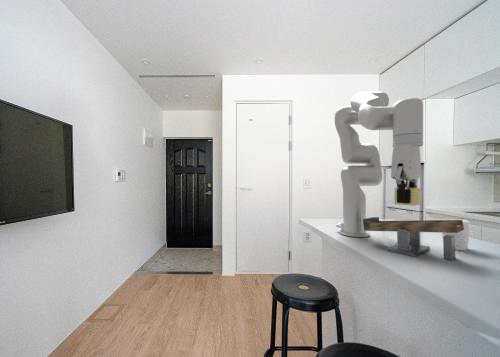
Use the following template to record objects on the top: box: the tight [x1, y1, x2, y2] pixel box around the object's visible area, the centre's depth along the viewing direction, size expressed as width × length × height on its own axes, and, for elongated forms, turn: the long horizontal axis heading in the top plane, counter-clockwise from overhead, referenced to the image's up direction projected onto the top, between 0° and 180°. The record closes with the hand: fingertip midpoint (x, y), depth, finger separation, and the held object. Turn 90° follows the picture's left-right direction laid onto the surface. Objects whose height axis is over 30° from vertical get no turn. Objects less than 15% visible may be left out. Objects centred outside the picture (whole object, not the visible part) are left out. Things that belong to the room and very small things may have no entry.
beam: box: [363, 216, 464, 233], centre depth 83 cm, size 28×8×5 cm, turn 37°
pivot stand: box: [387, 228, 431, 258], centre depth 82 cm, size 8×14×8 cm, turn 127°
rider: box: [394, 187, 421, 207], centre depth 70 cm, size 5×5×5 cm
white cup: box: [440, 218, 471, 251], centre depth 86 cm, size 8×8×10 cm
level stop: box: [442, 235, 456, 261], centre depth 74 cm, size 2×4×7 cm, turn 127°
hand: (407, 201), depth 70 cm, fingers closed on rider, 5 cm apart
